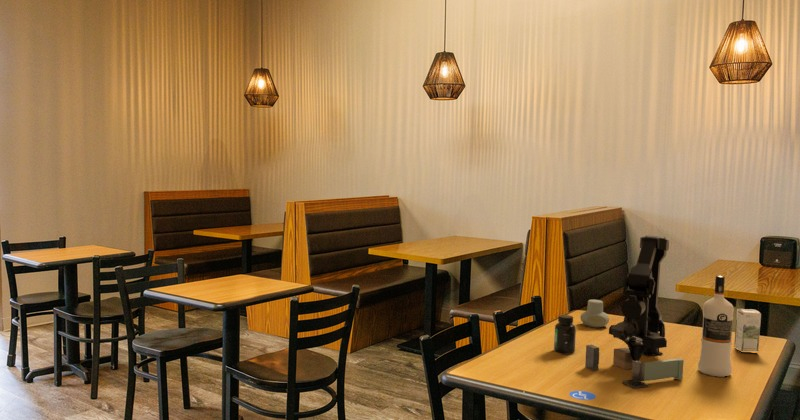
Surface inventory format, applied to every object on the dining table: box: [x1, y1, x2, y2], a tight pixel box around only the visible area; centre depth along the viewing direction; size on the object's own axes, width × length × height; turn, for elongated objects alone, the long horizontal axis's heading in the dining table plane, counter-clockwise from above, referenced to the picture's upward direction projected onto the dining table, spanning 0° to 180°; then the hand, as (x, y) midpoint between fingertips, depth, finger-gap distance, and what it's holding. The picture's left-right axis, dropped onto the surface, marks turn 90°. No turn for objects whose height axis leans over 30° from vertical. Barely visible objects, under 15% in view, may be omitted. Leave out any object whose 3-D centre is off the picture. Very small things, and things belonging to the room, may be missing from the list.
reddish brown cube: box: [612, 347, 633, 370], centre depth 197 cm, size 5×5×5 cm
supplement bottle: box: [553, 314, 577, 355], centre depth 211 cm, size 7×7×12 cm
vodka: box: [697, 275, 735, 378], centre depth 191 cm, size 9×9×30 cm
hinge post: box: [621, 360, 649, 390], centre depth 179 cm, size 5×5×7 cm
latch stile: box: [584, 344, 600, 372], centre depth 193 cm, size 2×4×7 cm
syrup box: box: [733, 308, 762, 352], centre depth 217 cm, size 6×6×14 cm
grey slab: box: [639, 357, 684, 383], centre depth 183 cm, size 15×2×6 cm, turn 112°
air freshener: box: [579, 299, 610, 329], centre depth 248 cm, size 11×8×10 cm
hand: (635, 363), depth 193 cm, fingers closed
